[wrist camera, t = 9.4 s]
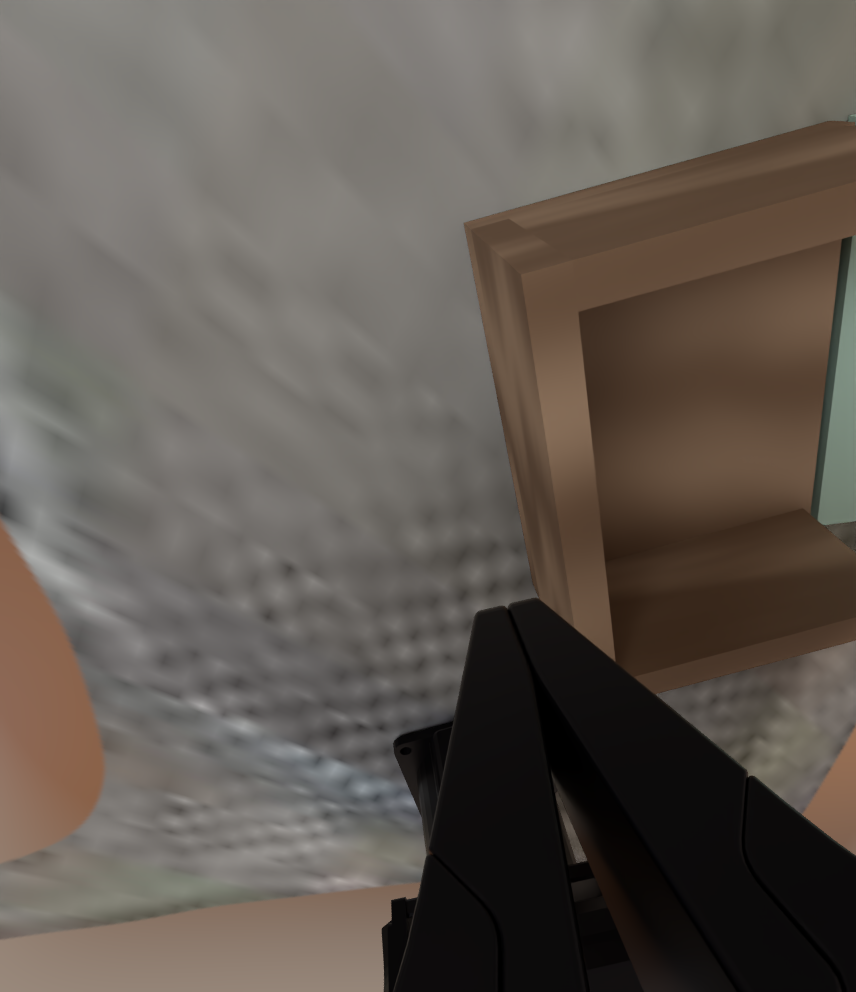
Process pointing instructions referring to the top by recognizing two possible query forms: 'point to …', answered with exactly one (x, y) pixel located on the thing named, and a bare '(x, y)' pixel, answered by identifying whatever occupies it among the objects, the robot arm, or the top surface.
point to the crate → (677, 402)
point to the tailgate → (839, 403)
